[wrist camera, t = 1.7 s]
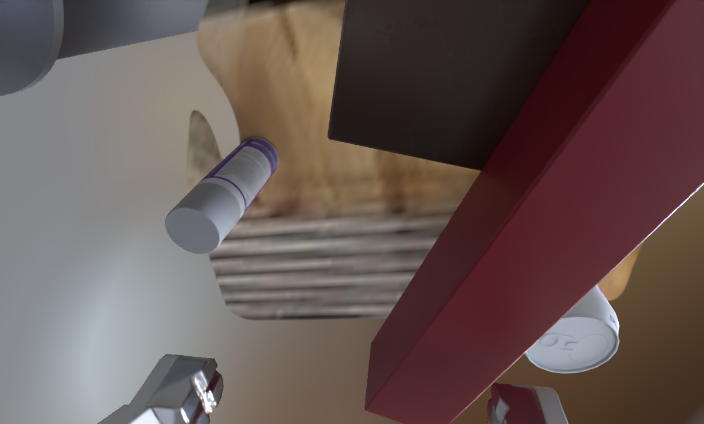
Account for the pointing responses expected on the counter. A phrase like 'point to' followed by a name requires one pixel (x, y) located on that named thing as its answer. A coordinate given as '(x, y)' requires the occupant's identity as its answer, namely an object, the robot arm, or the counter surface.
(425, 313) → the maroon rod
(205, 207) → the container
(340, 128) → the shelf stand
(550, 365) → the supplement can
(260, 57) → the counter surface
